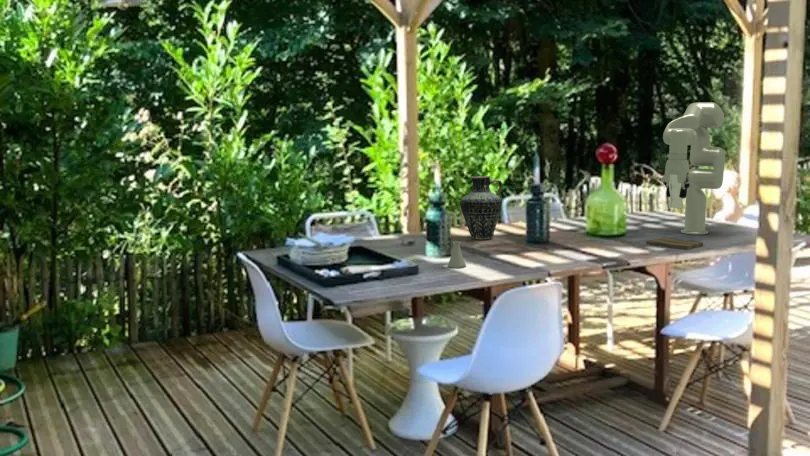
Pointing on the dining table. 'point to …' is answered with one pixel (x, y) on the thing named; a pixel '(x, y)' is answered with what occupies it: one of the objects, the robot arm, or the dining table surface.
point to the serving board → (675, 243)
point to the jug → (482, 208)
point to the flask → (456, 257)
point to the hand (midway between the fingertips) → (676, 196)
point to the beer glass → (675, 192)
